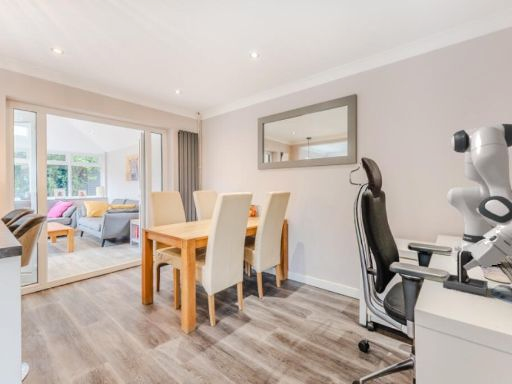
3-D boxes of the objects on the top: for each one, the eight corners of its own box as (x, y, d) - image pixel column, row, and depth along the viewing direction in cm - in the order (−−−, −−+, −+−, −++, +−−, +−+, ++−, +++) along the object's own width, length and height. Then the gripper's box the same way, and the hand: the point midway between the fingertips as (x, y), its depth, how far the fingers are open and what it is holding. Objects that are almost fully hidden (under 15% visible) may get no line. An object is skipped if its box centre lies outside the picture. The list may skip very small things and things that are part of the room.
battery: (470, 285, 89) (470, 253, 89) (456, 282, 91) (456, 251, 92) (474, 281, 93) (474, 250, 93) (461, 278, 96) (461, 249, 96)
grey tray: (448, 279, 100) (448, 273, 100) (487, 287, 92) (487, 281, 92) (443, 287, 92) (443, 280, 92) (485, 296, 84) (485, 289, 84)
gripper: (484, 231, 97) (452, 253, 103) (497, 239, 80) (459, 265, 86) (500, 244, 95) (466, 265, 100) (517, 255, 78) (476, 280, 83)
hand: (463, 265), depth 93 cm, fingers closed on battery, 7 cm apart
